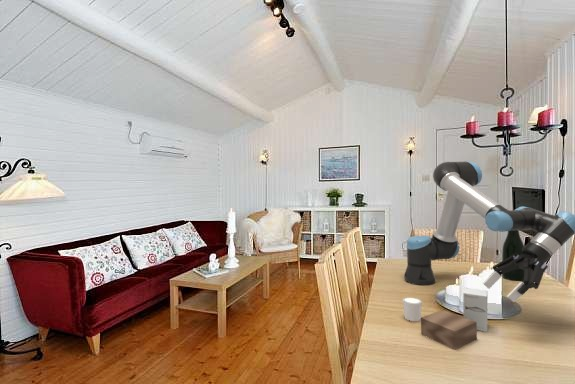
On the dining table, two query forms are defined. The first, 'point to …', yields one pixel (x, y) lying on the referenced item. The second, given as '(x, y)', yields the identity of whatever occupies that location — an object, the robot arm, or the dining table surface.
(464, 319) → the walnut block
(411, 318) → the white cylinder
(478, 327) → the supplement box
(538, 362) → the dining table surface
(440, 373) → the dining table surface
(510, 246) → the dark green bottle
